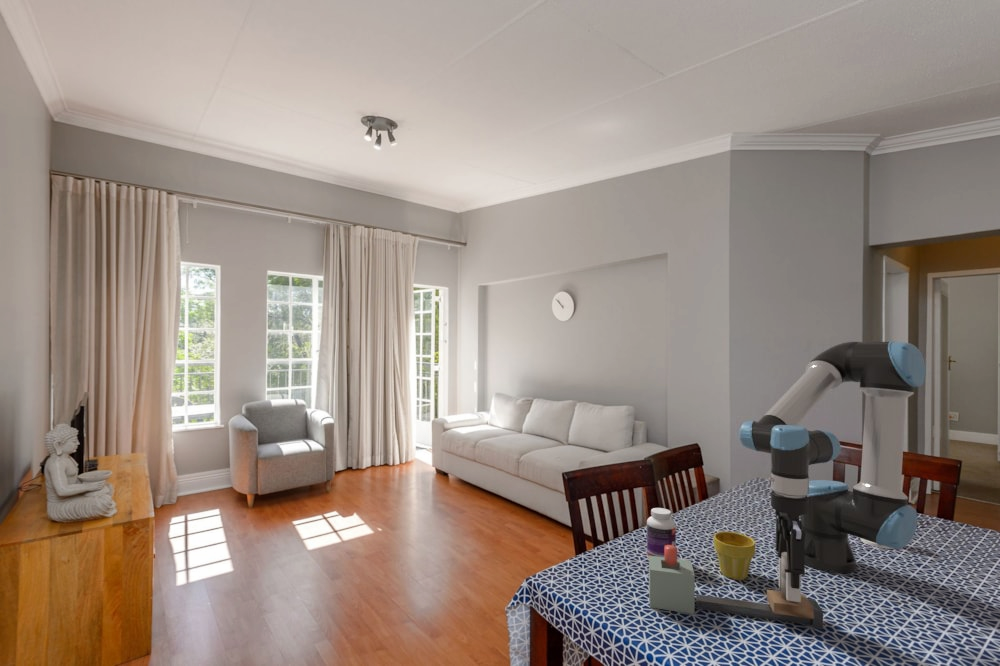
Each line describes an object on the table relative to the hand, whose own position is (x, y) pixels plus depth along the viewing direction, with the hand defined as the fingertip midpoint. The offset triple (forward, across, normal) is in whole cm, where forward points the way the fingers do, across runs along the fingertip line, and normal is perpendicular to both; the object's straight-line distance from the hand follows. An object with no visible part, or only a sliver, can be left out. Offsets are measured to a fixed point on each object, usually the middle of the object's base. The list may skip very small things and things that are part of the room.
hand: (789, 593), depth 112 cm
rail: (+6, 0, -8) cm, 10 cm away
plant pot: (+6, -20, -8) cm, 22 cm away
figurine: (+6, -56, +41) cm, 70 cm away
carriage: (+3, 0, 0) cm, 3 cm away
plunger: (-4, 0, -26) cm, 26 cm away
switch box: (+6, 0, -26) cm, 27 cm away
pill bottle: (+6, -23, -27) cm, 36 cm away
